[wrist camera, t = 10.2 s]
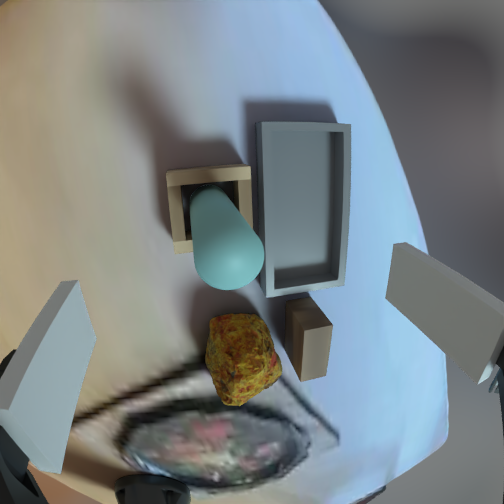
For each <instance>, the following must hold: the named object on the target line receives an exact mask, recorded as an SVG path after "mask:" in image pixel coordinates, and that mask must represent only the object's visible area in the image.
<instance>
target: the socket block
mask: <svg viewBox="0 0 504 504" xmlns="http://www.w3.org/2000/svg"><path fill="white" fill-rule="evenodd" d="M166 180H167V191H168V201H169V211H170V220H171V228H172V237H173V245H174V252H175V254H180V253H189V252H193V242H192V231H191V230H189V231H185V221H184V211H183V200H182V189H181V185H188V184H198V183H209V182H221V181H233V192H234V206H235V207H236V208H237V210H238V211H239V212H240V213H241V215H242V216H243V217H244V219H245V220H246V221H247V223H248V224H249V225H250V227H251V228H252V229H253V217H252V191H251V166H248V165H246V164H232V165H218V166H206V167H195V168H184V169H175V170H168V171H167V173H166Z"/></svg>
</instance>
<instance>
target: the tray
mask: <svg viewBox="0 0 504 504" xmlns="http://www.w3.org/2000/svg"><path fill="white" fill-rule="evenodd" d="M255 134H256V161H257V189H258V219H259V239H260V240H261V242H262V245H263V248H264V262H263V266H262V268H261V270H260V284H261V288H262V290H263V292H264V294H265V296H266V298H269V297H276V296H283V295H289V294H296V293H302V292H308V291H315V290H321V289H327V288H333V287H339V286H344V282H345V272H346V260H347V247H348V233H349V215H350V190H351V124H340V123H321V122H258V123H255Z"/></svg>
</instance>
